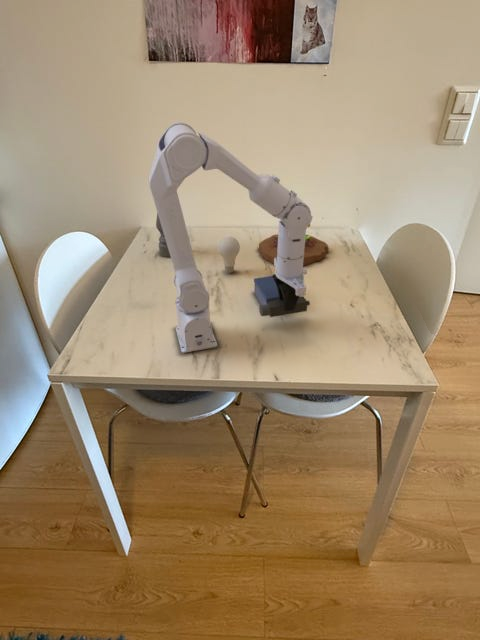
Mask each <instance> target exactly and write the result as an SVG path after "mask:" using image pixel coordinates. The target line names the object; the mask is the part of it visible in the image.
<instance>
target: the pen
mask: <svg viewBox="0 0 480 640" xmlns="http://www.w3.org/2000/svg"><path fill="white" fill-rule="evenodd" d="M310 305H311V302H310V300H307V299H306V298H305V297H304V295H302V296H300V297H299V299H298V301H297V303H296V306H295V309H294V310H291V311H285V308H284V300H278V301H272V302H268V304H267V305H261V304H260V305H259V308H258V310H259V314H260V317H266V316H270V318H274V317H280V316H287V315H291V314H297V313H303V312H307V311H308V306H310Z"/></svg>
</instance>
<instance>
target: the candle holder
mask: <svg viewBox="0 0 480 640" xmlns="http://www.w3.org/2000/svg"><path fill="white" fill-rule="evenodd" d="M155 227H156V229H157V231H158V232H159V238H158V248H159V249H158V251H159V255H160V256H161V257H164V258H171V256H170V253H169V250H168V246H167V243H166V239H165V236H164V233H163V229H162V226H161V223H160V219H159V216H158V213H157V212H156V220H155Z"/></svg>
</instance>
